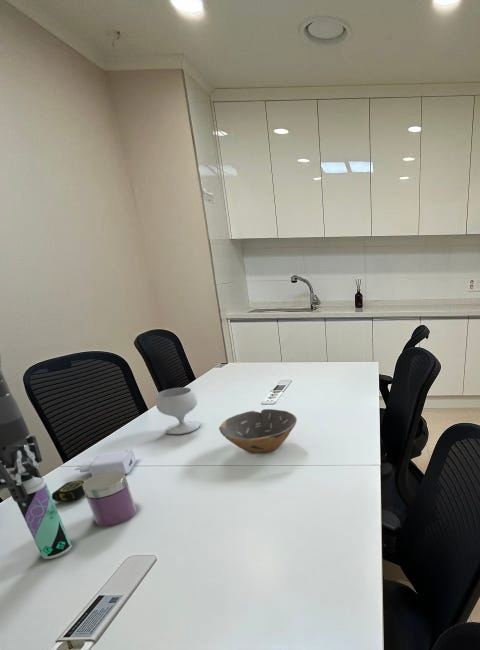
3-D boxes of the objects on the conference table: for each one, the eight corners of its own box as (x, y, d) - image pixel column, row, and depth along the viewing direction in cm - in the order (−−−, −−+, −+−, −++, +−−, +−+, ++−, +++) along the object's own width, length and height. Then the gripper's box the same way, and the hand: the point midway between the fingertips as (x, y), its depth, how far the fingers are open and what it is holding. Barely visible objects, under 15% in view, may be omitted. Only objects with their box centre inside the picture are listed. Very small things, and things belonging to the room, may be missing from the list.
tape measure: (72, 490, 111) (67, 479, 110) (95, 490, 111) (91, 479, 109) (53, 504, 105) (48, 492, 103) (78, 504, 105) (73, 492, 103)
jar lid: (79, 500, 91) (75, 492, 90) (93, 482, 99) (90, 473, 98) (120, 494, 93) (117, 486, 92) (131, 476, 101) (128, 468, 100)
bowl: (238, 474, 117) (233, 445, 113) (215, 446, 135) (209, 420, 131) (312, 451, 130) (310, 423, 126) (282, 428, 148) (279, 403, 144)
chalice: (189, 437, 143) (180, 398, 137) (155, 435, 145) (144, 397, 139) (209, 422, 156) (201, 386, 150) (178, 421, 158) (169, 386, 152)
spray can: (40, 551, 88) (4, 474, 80) (69, 539, 91) (38, 464, 83) (43, 562, 84) (6, 483, 76) (73, 550, 87) (41, 473, 80)
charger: (84, 467, 124) (136, 461, 127) (71, 482, 115) (127, 475, 118) (79, 454, 122) (132, 448, 125) (66, 468, 113) (122, 461, 116)
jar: (90, 529, 95) (76, 494, 90) (103, 508, 102) (91, 475, 98) (130, 522, 97) (118, 488, 92) (140, 502, 105) (130, 470, 100)
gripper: (-5, 408, 80) (27, 478, 87) (-55, 435, 67) (-13, 515, 74) (37, 404, 82) (65, 473, 89) (-4, 430, 69) (33, 509, 76)
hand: (30, 492), depth 81 cm, fingers closed on spray can, 5 cm apart
